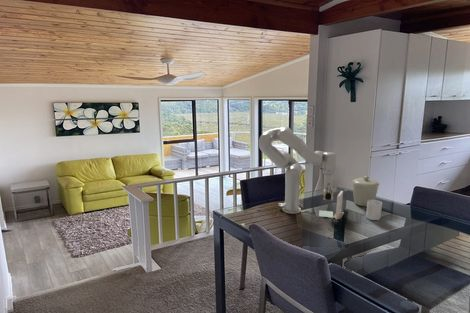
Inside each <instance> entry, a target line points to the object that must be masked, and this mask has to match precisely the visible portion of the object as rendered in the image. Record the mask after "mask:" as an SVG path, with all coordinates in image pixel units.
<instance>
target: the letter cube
mask: <svg viewBox="0 0 470 313" xmlns="http://www.w3.org/2000/svg"><path fill="white" fill-rule="evenodd" d="M327 189H328V188H327ZM327 191H328V190H327ZM322 200H323V201H327V200H326V189H324V188H323V198H322ZM330 201H331V202H332V201H334V188H332V190H331V200H330Z"/></svg>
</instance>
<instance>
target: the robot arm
mask: <svg viewBox="0 0 470 313" xmlns="http://www.w3.org/2000/svg"><path fill="white" fill-rule="evenodd" d="M277 141H280V142H281V143H283V144H285V145H286V146H288V147H289V148H291V149H292V150H294V151H295V152H296V153H297V154H298V156H300V157H301V158H302V159H304V160H305V161H306V162H308V163H309V164H311V165H313V166H316V167H317V166H320V165H321V164H322V163H323V166H322V168H323V169H322V170H323V172H322V174H323V175H324V181H323V190H324V189H326V200H325V201H331V190H332V189H333V183H334V176H335V175H336V166H337V154H336V153H335V152H333V151H321V150H315V151H313V150H312V149H310V148H309V147H308V145H307V144H306V143H305V140H303V139H302V138H300V137H299V136H298V135H296V134H294V133H293V130H292V129H291V128H290V127H288V126H287V127H286V126H285V127H280V128H278V127H277V128H273V129H267V130H266V131H264V132H263V133H261V135H260V136H259V139H258V147H259V150H260V151H261V152H262V154H264V155H265V156H266V158H268V159H269V161H271V163H273V164H274V165H275V167H277V169H281V170H283V169H286V171H285V172H284V174H285V175H284V178H285V182H284V184H285V186H284V187H285V188H284V190H285V191H284V194H285V195H284V202H278V204H277V205H278V206H279V207H280V208H282V211H283V212H284V213H285V214H286V213H287V214H291V215H293V214H295V215H296V214H298V213H300V212H301V211H302V209H301V207H300V206H299V205H300V186H301V185H300V184H301V182H300V181H301V180H300V179H301V174H302V172H303V167H302V165H301V163H299V162H298V161H297V159H295V158H294V157H293V156H292V155H291V154H290V153H288V152H286V151H282V152H281V151H280V150H279V149H278V148H277V147H275V146H274V145H273V144H272V143H273V142H277ZM327 188H328V189H327ZM327 190H328V191H327Z"/></svg>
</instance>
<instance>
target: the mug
mask: <svg viewBox="0 0 470 313" xmlns="http://www.w3.org/2000/svg"><path fill="white" fill-rule="evenodd" d="M382 208H383V202H382V201H380V200H378V199H375V200H368V201H367V207H366V212H365V216H366V218H367V219H368V220H369V221H370V220H371V221H373V220H377V221H379V220H380V219H381V217H382Z"/></svg>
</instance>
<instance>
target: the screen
mask: <svg viewBox="0 0 470 313" xmlns="http://www.w3.org/2000/svg"><path fill="white" fill-rule="evenodd" d="M343 195H344V190H340V192H339V193H338V194H337V195H336V196H337V197H336V208H335V209H336V210H335V213H334V214H333V218H335V219H334V220H337V219H340V218H341V219H342V217H343V216H344V214H345V212H344V211H342V208H343ZM333 218H332V219H333ZM341 219H340V220H341Z"/></svg>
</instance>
